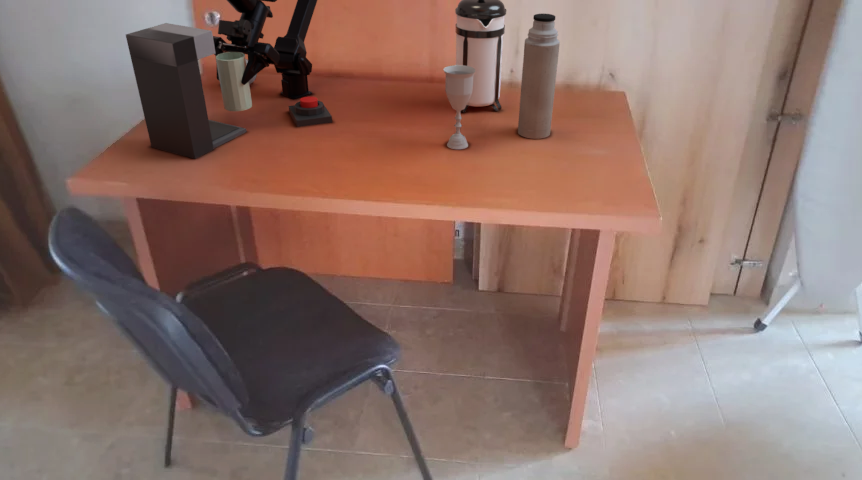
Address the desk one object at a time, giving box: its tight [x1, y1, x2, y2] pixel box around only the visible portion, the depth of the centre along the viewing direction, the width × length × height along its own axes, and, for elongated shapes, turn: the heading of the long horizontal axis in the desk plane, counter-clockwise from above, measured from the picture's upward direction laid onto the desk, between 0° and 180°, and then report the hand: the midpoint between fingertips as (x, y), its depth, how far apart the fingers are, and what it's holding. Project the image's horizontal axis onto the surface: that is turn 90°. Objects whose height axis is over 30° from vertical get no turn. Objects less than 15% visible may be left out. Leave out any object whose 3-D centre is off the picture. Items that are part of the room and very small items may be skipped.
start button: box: [299, 95, 319, 108], centre depth 178 cm, size 4×4×2 cm
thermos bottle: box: [517, 13, 561, 140], centre depth 164 cm, size 8×8×28 cm
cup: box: [215, 52, 253, 112], centre depth 169 cm, size 7×7×12 cm
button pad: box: [288, 99, 333, 128], centre depth 179 cm, size 11×9×4 cm
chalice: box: [442, 64, 476, 150], centre depth 161 cm, size 7×7×18 cm
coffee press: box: [454, 0, 507, 114], centre depth 181 cm, size 17×16×30 cm
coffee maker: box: [125, 22, 248, 160], centre depth 161 cm, size 18×14×26 cm
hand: (230, 81), depth 168 cm, fingers closed on cup, 7 cm apart
